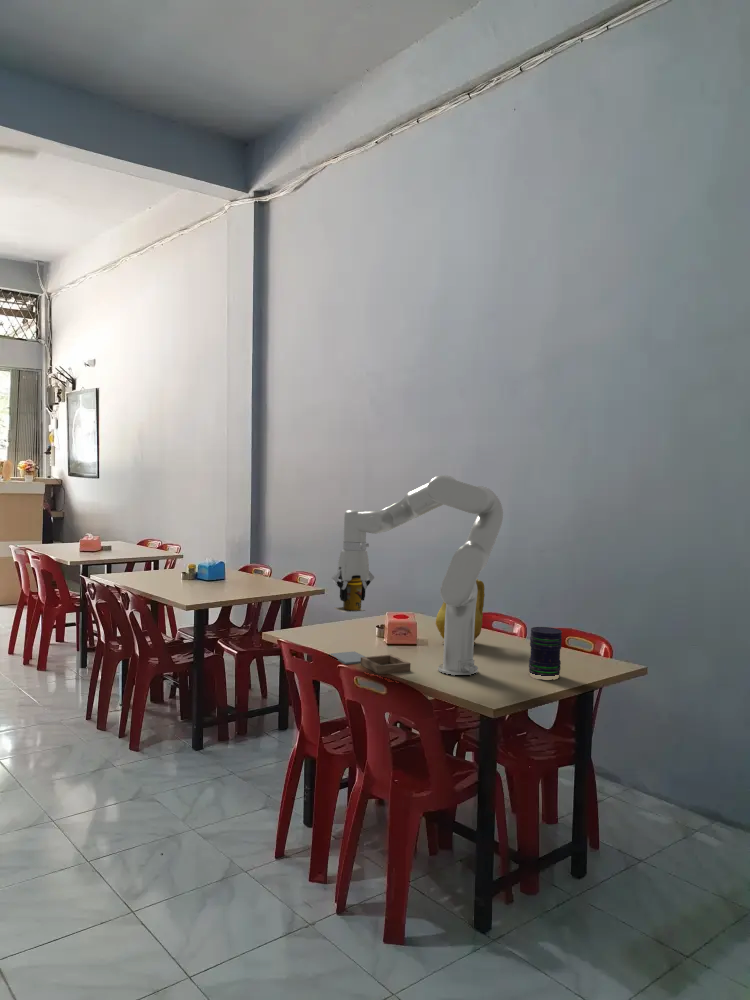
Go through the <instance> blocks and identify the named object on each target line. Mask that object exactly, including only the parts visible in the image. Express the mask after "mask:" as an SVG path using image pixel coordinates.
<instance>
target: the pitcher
mask: <svg viewBox="0 0 750 1000" xmlns="http://www.w3.org/2000/svg"><path fill="white" fill-rule="evenodd" d="M476 584H477V601H476V610H475V627H474V645H476V642H475V641H476V639H477V638H478V637H480V634H481V632H482V627H483V618H484V613H483V611H484V605H485V604H484V603H485V596H486V595H485V584H484V582H483V581H482V580H480V579H478V578H477V580H476ZM445 612H446V603H445V602H444V601H443V603H442V604H441V606H440V608H439V610H438V612H437V614H436V618H435V625H436V627H437V630H438V632H439V634H440V637H441V638H442V639H443V640H444V631H445Z"/></svg>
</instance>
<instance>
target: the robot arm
mask: <svg viewBox="0 0 750 1000" xmlns="http://www.w3.org/2000/svg"><path fill="white" fill-rule="evenodd" d="M502 505H503V504H502V502H501V501H500V498H499V497H498V496H497V495H496V493H495V492H494V491H493V490H492V489H490V488H489V487H487V486H484V485H483V486H482V485H481V486H480V485H479V486H476V485H472V484H469V483H466V482H462V481H460V480H456V479H455V478H454V477H453V476H451V475H446V474H445V475H442V474H441V475H437V476H434V477H433V478H431V479H430V480H429V482H428V483H425V484H423V485H421V486H419V487H417V488H415V489H413V490H410V491H409V492H407V493H406V494H405V495H404V496H403V497H402V498H401V499H400V500H398V501H397V502H395V503H393V504H392V505H389V506H386V507H385V508H383V509H378V510H371V511H369V510H368V511H365V510H361V509H348V510H347V509H346V511H345V512H344V516H343V517H344V519H343V520H344V521H343V540H342V541H343V543H342V547H343V548H342V550H340V552H339V556H338V560H337V561H338V562H337V569H336V572H335V574H334V575H333V576H332V577H331V581H333V583H334V584H335V585H336V586H337V587H338V589H339V599H340V601H341V602H343V601H344V602H345V601H346V599H347V590H346V589H345V588H346V585H347V583H348V581H350V580H351V579H352V576H356V575H360V576H361V582H362V600H361V602H363V601H364V602H365V598H366V589H367V588H368V586H369V585H370V584H371V582H372V581H373V580H374V579H375V576H374V575H373V573H372V572H371V571H370V567H369V564H370V562H369V556H368V551H367V548H369V547H370V545H369V543H368V542H367V533H368V534H371V535H372V534H375V535H377V534H382V533H386V532H389V531H391V530H394V529H395V528H398V527H400V526H402V525H403V524H406V523H407V522H409V521H412V520H414V519H417V518H419V517H420V516H421V517H422V516H423V515H425V514H427V513H428V512H431V511H433V510H435V509H437V508H440V507H442V506H447V507H450V508H453V509H456V510H459V511H462V512H465V513H468V514H472V515H476V516H475V520H474V522H473V523H472V526H471V527H470V531H469V534H468V536H467V539H466V540H465V542H464V544H463V545H461V546H460V547H459V548H457V549H456V551H455V552H454V554H453V556H452V558H451V561H450V563H449V564H448V565H449V566H448V568H447V570H446V572H445V575H444V578H443V579H442V582H441V585H440V590H439V593H440V598H441V600H442V601H443V602H445V603H446V612H445V631H444V639H443V642H444V645H443V654H442V655H443V659H442V660H443V661H442V664H439V665H438V666H437V670H438V672H440V673H441V672H442V674H444V673H446V675H448V674H451V675H450V676H455V675H470V674H474V673H476V672H477V673H478V669H479V667H478V666H477V665H475V659H474V648H475V647H474V645H475V644H474V642H475V641H474V627H475V610H476V601H477V584H476V580H477V579H478V577H479V576H480V573H481V571H483V570H484V569H485V568H486V566H487V564H488V563H489V559H490V556H491V553H492V551H493V548H494V545H495V543H496V540H497V537H498V535H499V532H500V530H501V527H502V524H503V519H504V511H503V510H504V509H503V506H502ZM477 673H476V674H477ZM474 675H475V674H474ZM470 676H471V675H470Z"/></svg>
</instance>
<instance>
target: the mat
mask: <svg viewBox="0 0 750 1000" xmlns="http://www.w3.org/2000/svg"><path fill="white" fill-rule="evenodd" d="M330 654H331V655H333V656H334V657H336V658H337V659H338V660H337V661H338V662H340V663H342V664H344V665H353V664H361V657H366V656H365V655H363V654H360V653H359V652H356V651H343V652H334V653H333V652H331V653H330Z"/></svg>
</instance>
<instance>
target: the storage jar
mask: <svg viewBox="0 0 750 1000" xmlns="http://www.w3.org/2000/svg"><path fill="white" fill-rule="evenodd" d="M562 633H563V631H562V630H561V629H558V628H555V627H548V626H534V627H531V628H530V636H529V640H530V642H529V646H530V655H529V656H530V657H529V659H528V671H529V672H530V673H532V674H535V675H541V676H555V675H559V676H560V674H561V664H562V663H561V662H562V660H561V649H562V647H563V646H562V642H563V639H562ZM529 672H528V673H529Z"/></svg>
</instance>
